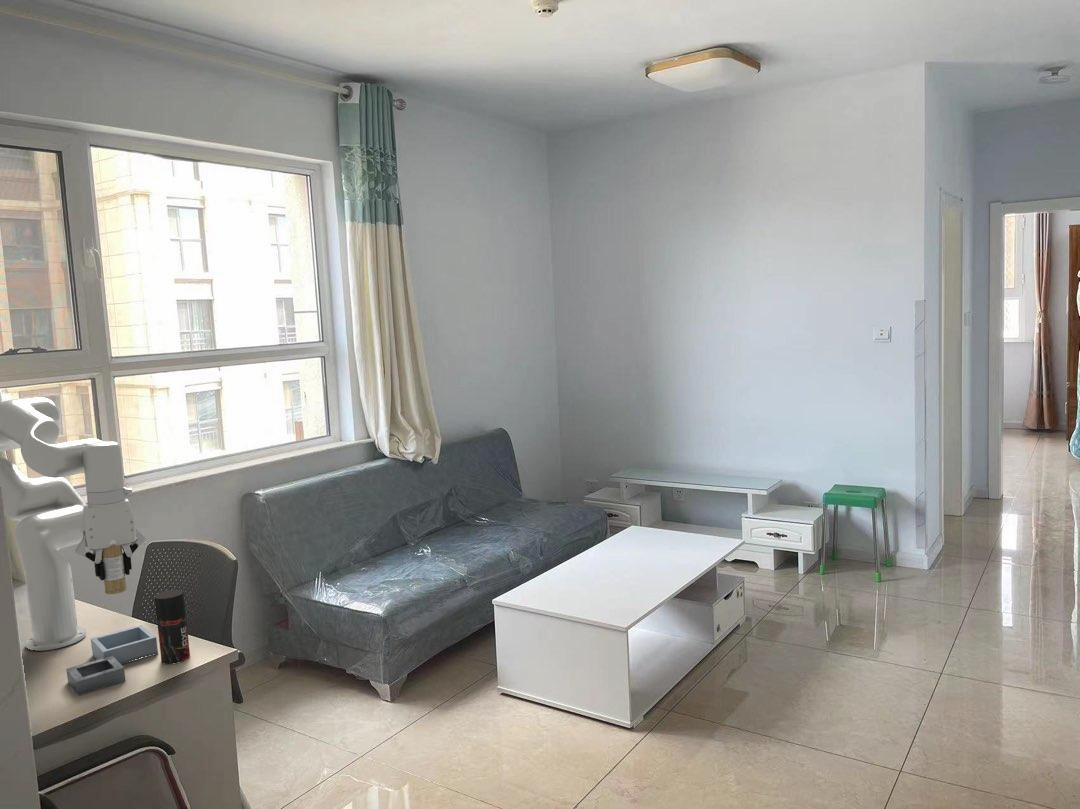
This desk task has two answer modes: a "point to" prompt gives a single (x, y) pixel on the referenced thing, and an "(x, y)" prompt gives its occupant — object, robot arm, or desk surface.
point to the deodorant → (172, 626)
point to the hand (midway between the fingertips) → (114, 575)
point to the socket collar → (95, 675)
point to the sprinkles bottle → (114, 569)
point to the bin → (125, 644)
